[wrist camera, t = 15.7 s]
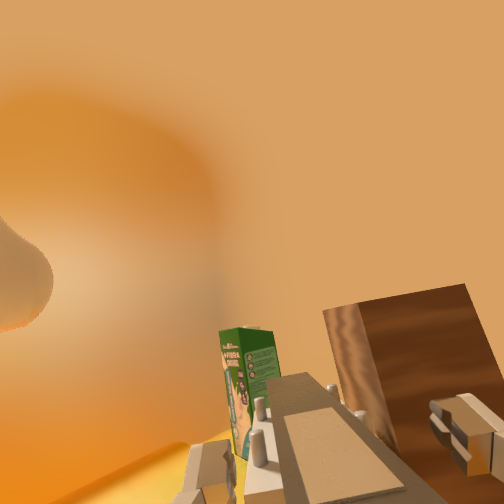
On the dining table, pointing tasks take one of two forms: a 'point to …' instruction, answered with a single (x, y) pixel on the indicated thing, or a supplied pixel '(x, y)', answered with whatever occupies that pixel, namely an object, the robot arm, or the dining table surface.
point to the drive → (335, 451)
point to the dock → (274, 454)
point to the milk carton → (247, 377)
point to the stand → (418, 377)
